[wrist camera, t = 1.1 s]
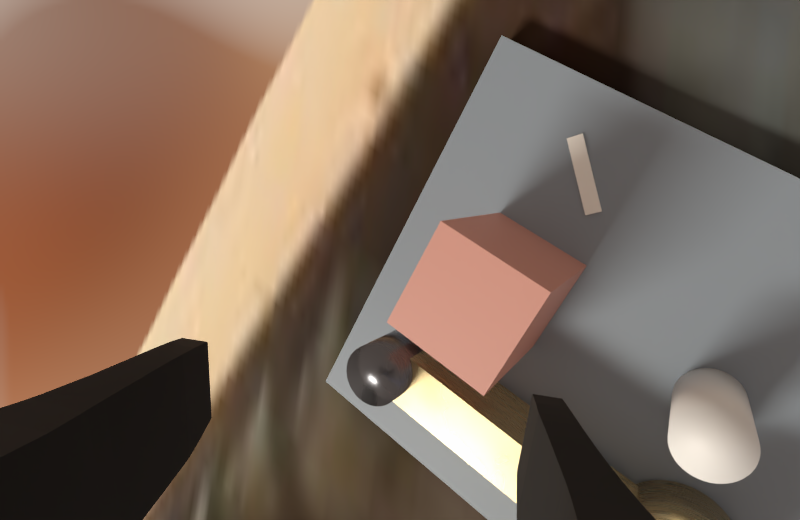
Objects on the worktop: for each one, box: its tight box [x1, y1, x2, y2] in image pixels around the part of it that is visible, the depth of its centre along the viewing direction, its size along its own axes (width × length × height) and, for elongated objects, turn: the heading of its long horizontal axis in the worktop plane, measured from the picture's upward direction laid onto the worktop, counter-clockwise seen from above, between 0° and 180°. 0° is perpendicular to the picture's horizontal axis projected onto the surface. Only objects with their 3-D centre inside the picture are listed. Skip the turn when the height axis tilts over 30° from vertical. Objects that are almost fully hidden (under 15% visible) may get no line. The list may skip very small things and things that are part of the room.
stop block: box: [387, 213, 586, 396], centre depth 20 cm, size 4×4×6 cm
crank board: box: [326, 36, 800, 520], centre depth 20 cm, size 20×18×5 cm
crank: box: [346, 330, 731, 520], centre depth 20 cm, size 15×4×4 cm, turn 61°
